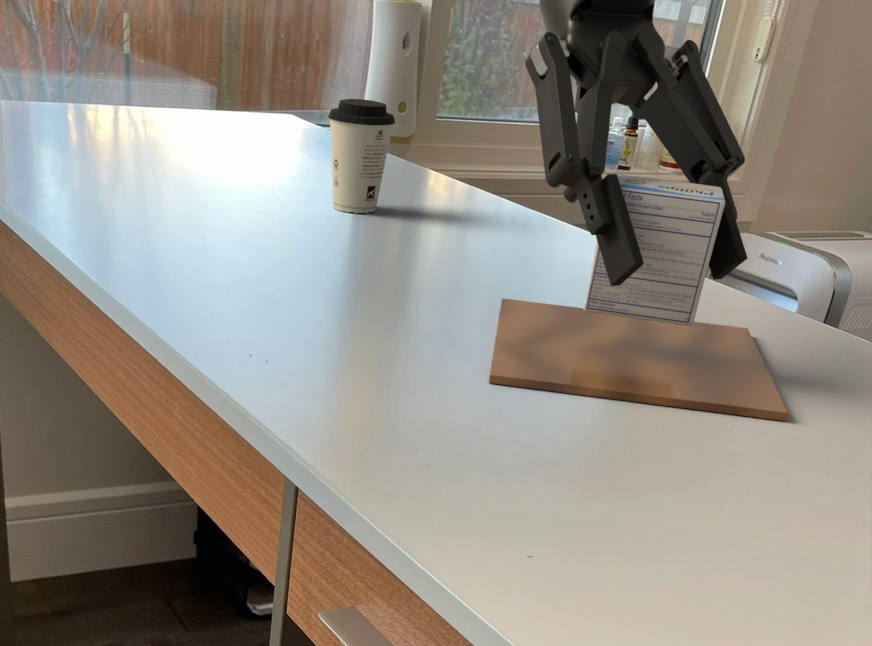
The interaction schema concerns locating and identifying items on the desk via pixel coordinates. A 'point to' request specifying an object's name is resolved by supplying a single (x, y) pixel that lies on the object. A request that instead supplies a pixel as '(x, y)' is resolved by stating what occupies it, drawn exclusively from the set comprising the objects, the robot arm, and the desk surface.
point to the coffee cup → (358, 153)
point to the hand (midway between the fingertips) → (680, 271)
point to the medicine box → (661, 251)
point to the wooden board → (633, 360)
